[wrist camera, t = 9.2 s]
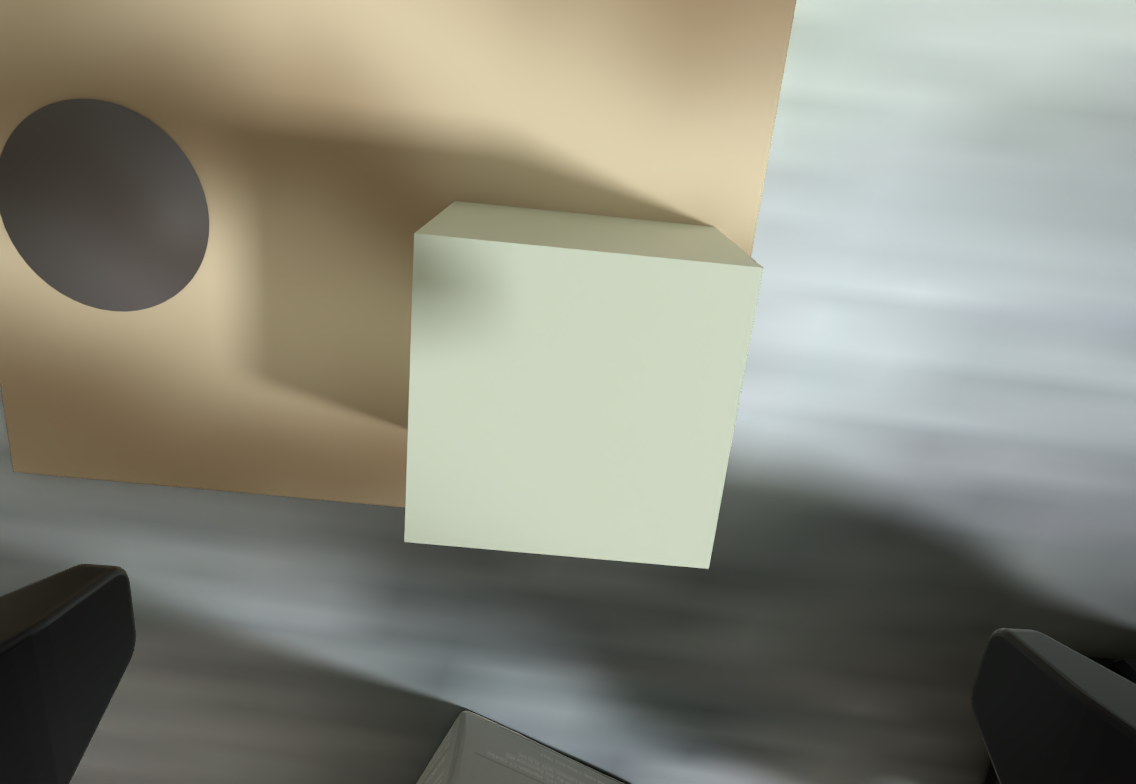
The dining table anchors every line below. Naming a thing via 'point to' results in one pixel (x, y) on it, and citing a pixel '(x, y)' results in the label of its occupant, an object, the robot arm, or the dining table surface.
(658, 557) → the grey green block
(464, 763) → the skincare box
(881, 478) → the dining table surface
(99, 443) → the board
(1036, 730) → the robot arm
